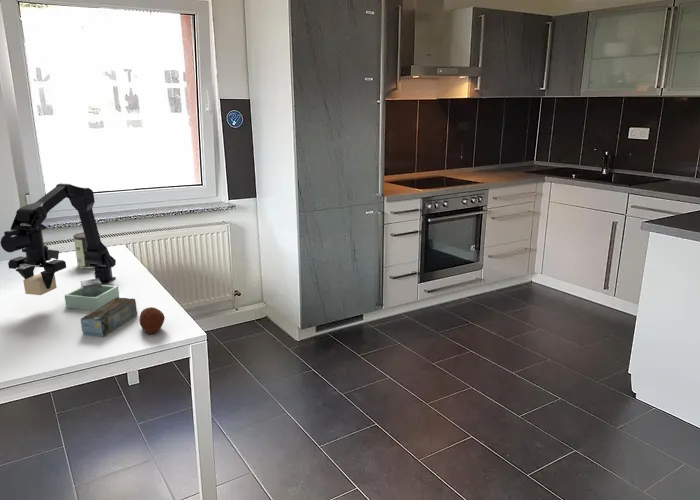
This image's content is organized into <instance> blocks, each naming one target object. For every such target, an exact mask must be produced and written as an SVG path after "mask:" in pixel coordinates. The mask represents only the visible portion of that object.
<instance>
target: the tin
mask: <svg viewBox="0 0 700 500" xmlns="http://www.w3.org/2000/svg"><path fill="white" fill-rule="evenodd" d="M102 285H103V283H101V282H100V280H99V278H97V279H95V278H92V279H87V280H86V279H85V280H80V286H81V288H82V296H87V297H97V296H99V295H101V294H103V292H102Z"/></svg>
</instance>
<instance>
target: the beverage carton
mask: <svg viewBox="0 0 700 500" xmlns="http://www.w3.org/2000/svg"><path fill="white" fill-rule="evenodd" d="M137 308H138V307H137V301H136V299H135V298H128V297H119V298H117V297H116V298H115V299H113V300H111V301H110V302H108V303H107V304H105V305H103V306H102V307H100V308H98V309H97V310H92V312H89V313H88V314H86V315H85V316H82V317H81V318H80V325H81V326H80V327H81V333H82V335H83V336H88V337H96V338H97V337H98V338H105V337H106V336H108V335H109V334H110V333H112V332H114V331H115V330H117V329H118V328H120V327H121V326H123V325H124V324H126V323H127V322H128V321H130V320H131V319H133V318H134V317H136V316H137V315H138V309H137Z"/></svg>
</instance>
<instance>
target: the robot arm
mask: <svg viewBox="0 0 700 500" xmlns="http://www.w3.org/2000/svg"><path fill="white" fill-rule="evenodd" d="M65 199H68V200H69V202H70V205H72V207H73V208H74V209H75V210H76V212H78V213H77V214H78V217H79V220H80V224H81V226H82V230H83V232H84V234H85V238H86V241H87V248H86V250H85V251H84V252H83V253H84V255H85V260H87V262H88V263H89V266H90V267H95V268H93V270H94V279H97V278H99V280H100V282H101V284H108V283H110V282H112V281H114V280H116V279H117V278H116V276H113V271H112V270H113V269H112V268H114V266H116V259H115V258H114V257H113V256H112V255H110V252H109V250H108V247H106V245H105V244H103V242H102V240H101V238H100V237H101V235H100V233H99V229H98V226H97V222H96V218H95V215H94V211H93V207H94V204H95V196H94V191H93V189H91V188H89V187H81V186H76V185H73V184H71V183H62V182H61V183H57V184H56V185H55V187H54V188H52V190H50V191H49V192H48V193H46V194H44V195H43V196H42V197H41V198H39V199H38V200H37V201H35V202H33V203H29V204H27V205H24V206H22V207H19V208H18V209H17V210H16V211H15V213H16V214H15V216H14V218H13V221H12V224H11V226H10V230H6V231H4V235H3V236H2V237H1V239H0V246H1V248H2V249H3V251H5V252H6V253H14V252H17V251H20V250H21V252H22V253H25V256H18V257H13V258H11V259H9V261H8V262H7V266H8V269H13V270H15V271H16V272H18V274H20V275H21V276H22V277H23V280H25V279H27V278H29V277H32V276H34V271H35V268H43V271H40V273H41V275H42V278H43V281H44V283H45V286H46V288H47V289H50V287H51V283H52V279H53V276H54V275H56V272H59V271H62V270H63V269H66V268H67V262H66V261H65V260H63V259H59V255H60V250H57V249H56V250H55V249H49V247H48V246H47V245H45V244H44V238H43V237H44V236H43V230H46V229H47V228H48V227H47V226H45V225H44V224H42V223H44V221H45V220H46V219H47V218H48V217H47V216H48V213H49V212H50V211H52V209H53V208H55V207H56V206H58V205H59V204H60V203H61V202H62V201H64V200H65ZM52 259H53V260H52ZM47 261H48V262H47Z"/></svg>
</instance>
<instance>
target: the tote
mask: <svg viewBox="0 0 700 500" xmlns="http://www.w3.org/2000/svg"><path fill="white" fill-rule="evenodd" d="M102 292H103V294H101V295H99V296H97V297H87V296H82V288H81V287H78V288H77V289H75V290H72V291H71V292H68V293H67V294H66V293H65V295H64V301H65V307H66V308H71V309H81V310H82V309H83V310H91V311H95V310H97V309H98V308H100V307H102V306H103V305H105V304H107V303H108V302H110V301H111V300H113V299H115V298H116V297H117V298H120V291H119V285H108V284H107V285H106V284H102Z"/></svg>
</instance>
